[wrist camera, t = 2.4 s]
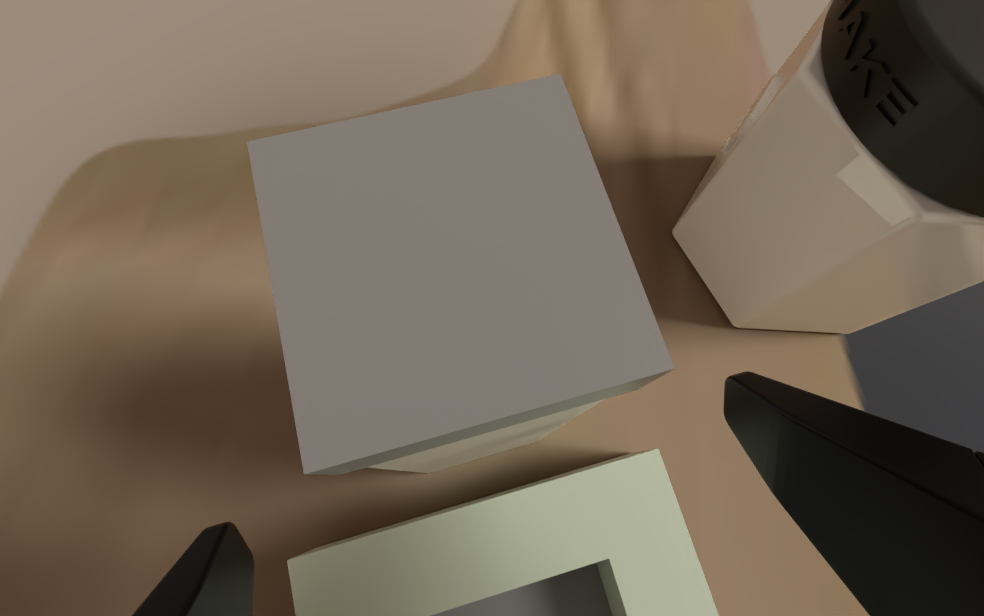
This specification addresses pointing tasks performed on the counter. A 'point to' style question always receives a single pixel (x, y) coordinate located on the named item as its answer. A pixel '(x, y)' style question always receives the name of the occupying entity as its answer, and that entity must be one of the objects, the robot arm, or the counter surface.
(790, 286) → the jar
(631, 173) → the counter surface
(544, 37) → the counter surface
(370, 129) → the plug
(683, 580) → the socket
